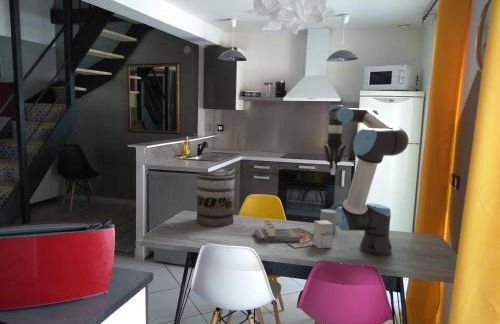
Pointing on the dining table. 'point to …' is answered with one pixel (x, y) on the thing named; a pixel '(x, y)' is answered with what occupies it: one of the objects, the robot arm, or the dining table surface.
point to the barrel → (215, 199)
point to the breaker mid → (268, 226)
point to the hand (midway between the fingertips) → (332, 174)
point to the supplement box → (323, 234)
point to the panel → (277, 236)
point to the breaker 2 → (271, 231)
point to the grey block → (329, 217)
